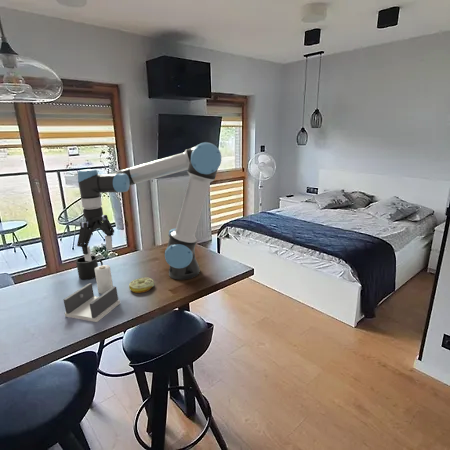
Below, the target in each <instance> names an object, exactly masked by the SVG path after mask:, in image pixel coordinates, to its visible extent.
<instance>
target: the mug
mask: <svg viewBox="0 0 450 450" xmlns="http://www.w3.org/2000/svg"><path fill="white" fill-rule="evenodd" d="M91 259H92V261H91V262H90V261H85V257H84V256H81V257H79V258H77V259H76V260H75V263H76V264H75V265H76V269H77V275H78V278H79V279H80V280H82V281H83V280H84V281H86V280H87V281H88V280H91V279H96V275H95V268H96V267H98V266H99V264H98V263H99V262H100V266H101V265H104V264H103V261H102V260H101V259H98V258H97V256H96V255H91Z"/></svg>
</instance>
